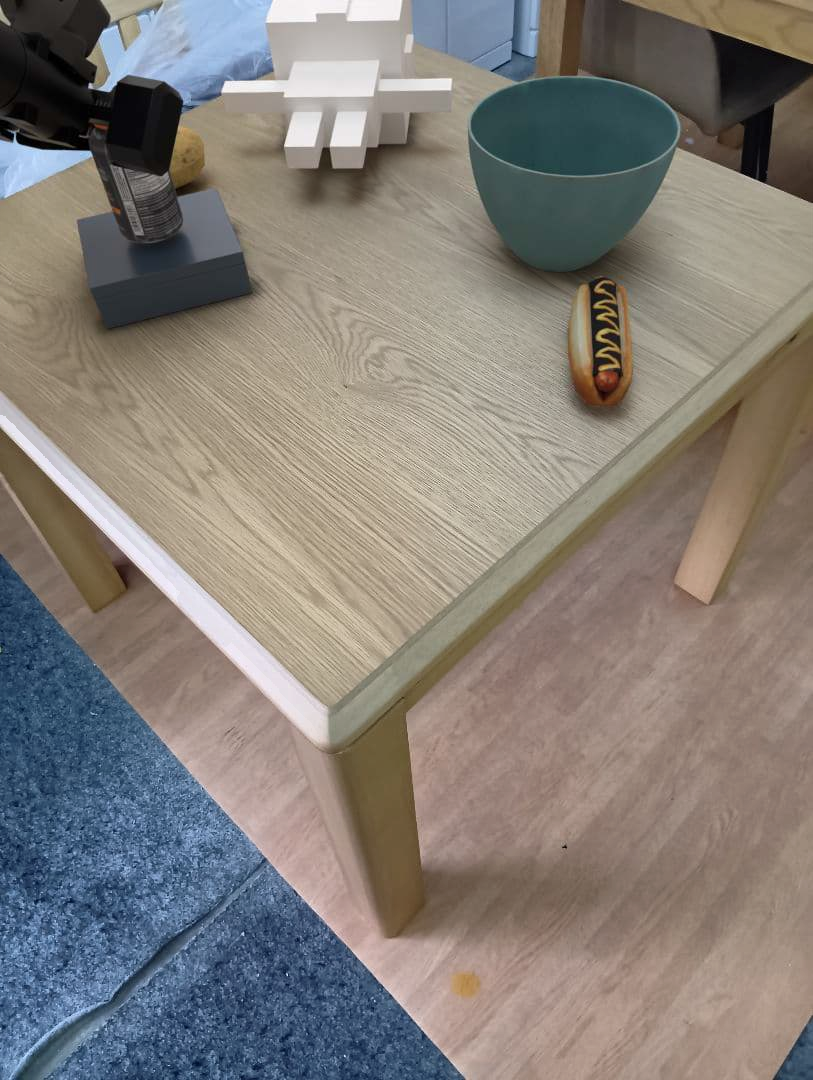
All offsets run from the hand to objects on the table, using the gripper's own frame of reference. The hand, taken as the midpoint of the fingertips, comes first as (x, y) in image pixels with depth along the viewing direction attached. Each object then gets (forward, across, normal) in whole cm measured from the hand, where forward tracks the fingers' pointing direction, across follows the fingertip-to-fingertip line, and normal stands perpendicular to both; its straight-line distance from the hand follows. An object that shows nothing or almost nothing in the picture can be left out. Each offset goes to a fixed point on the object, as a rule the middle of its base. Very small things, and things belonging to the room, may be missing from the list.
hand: (139, 151), depth 69 cm
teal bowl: (+21, -34, -4) cm, 40 cm away
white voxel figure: (+29, -4, -12) cm, 31 cm away
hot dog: (+10, -42, +7) cm, 44 cm away
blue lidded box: (+8, 0, +9) cm, 12 cm away
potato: (+17, +11, 0) cm, 20 cm away
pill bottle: (+4, 0, +6) cm, 7 cm away
